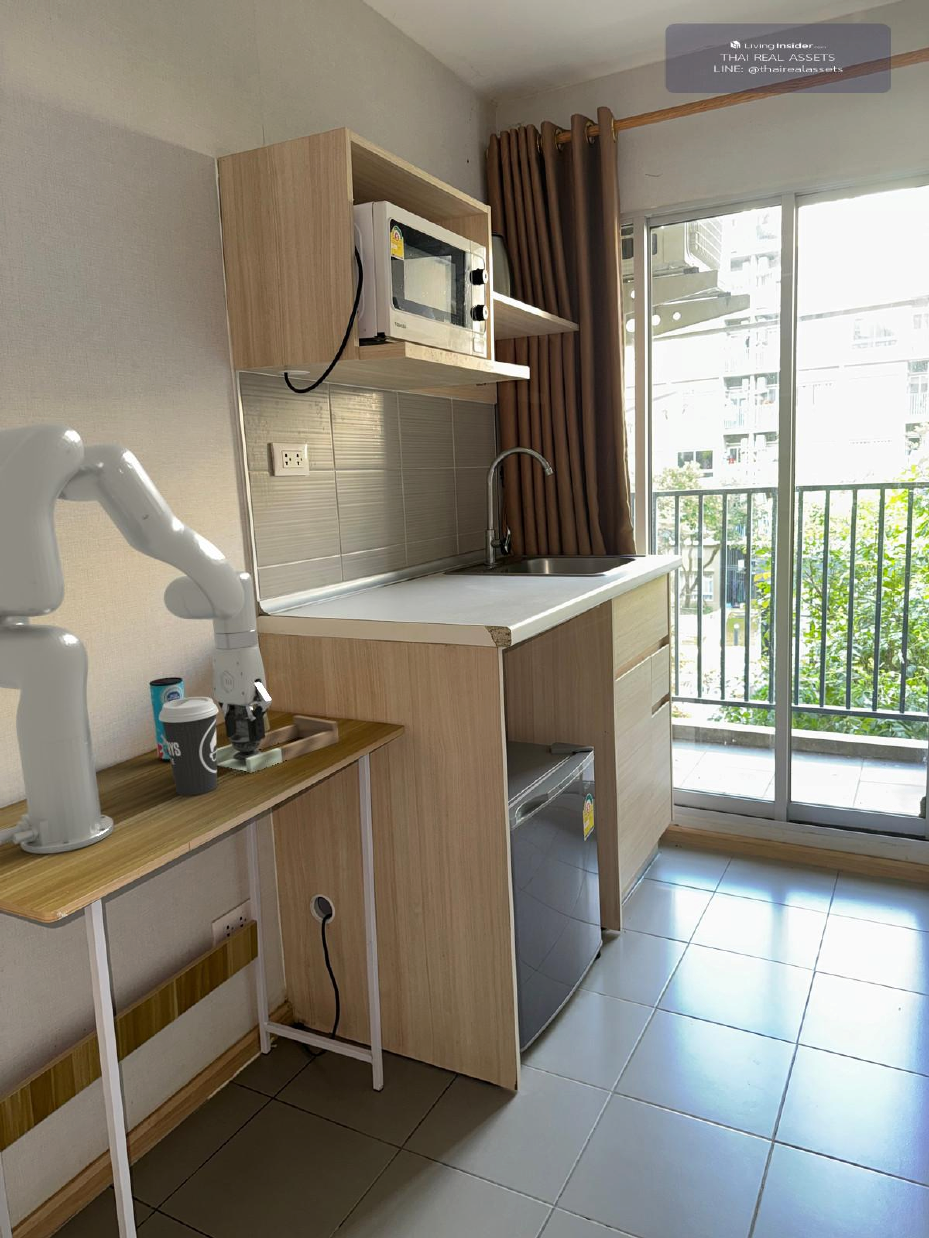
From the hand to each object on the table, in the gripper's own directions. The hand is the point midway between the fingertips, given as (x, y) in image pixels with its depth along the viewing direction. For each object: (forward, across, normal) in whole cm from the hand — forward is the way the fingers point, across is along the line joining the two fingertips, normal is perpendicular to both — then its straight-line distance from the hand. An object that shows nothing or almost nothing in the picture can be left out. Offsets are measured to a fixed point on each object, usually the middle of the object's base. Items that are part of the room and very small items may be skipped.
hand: (245, 736), depth 160 cm
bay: (+5, 0, +6) cm, 8 cm away
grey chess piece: (+4, 0, 0) cm, 4 cm away
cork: (+5, -17, +15) cm, 23 cm away
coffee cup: (+5, +4, -14) cm, 15 cm away
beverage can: (+5, -16, -5) cm, 17 cm away
